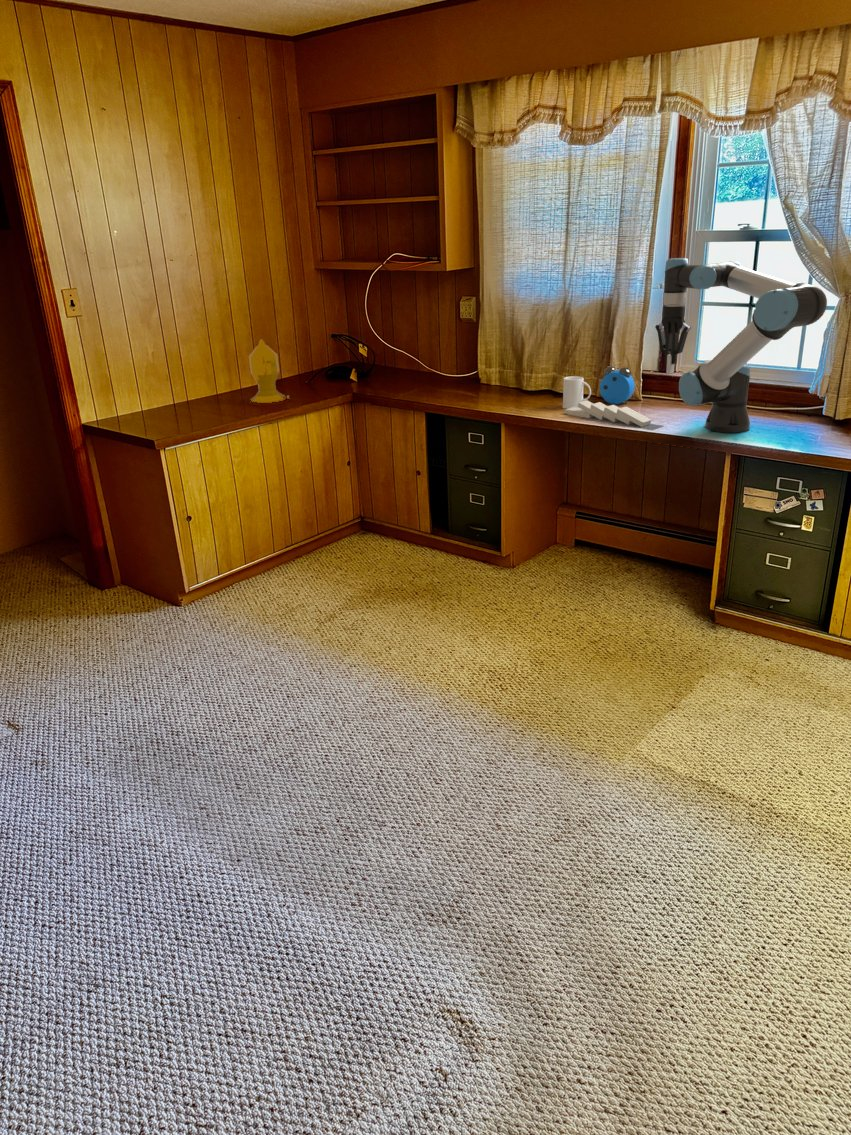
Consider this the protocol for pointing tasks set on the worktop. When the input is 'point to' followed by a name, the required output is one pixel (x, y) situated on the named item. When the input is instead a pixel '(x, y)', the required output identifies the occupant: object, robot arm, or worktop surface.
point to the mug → (573, 391)
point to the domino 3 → (602, 411)
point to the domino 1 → (578, 412)
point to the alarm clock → (617, 385)
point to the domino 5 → (634, 416)
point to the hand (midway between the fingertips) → (670, 372)
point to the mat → (648, 427)
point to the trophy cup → (265, 374)
